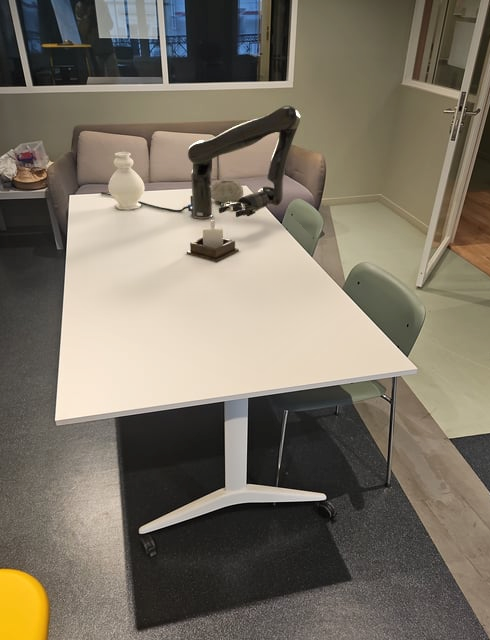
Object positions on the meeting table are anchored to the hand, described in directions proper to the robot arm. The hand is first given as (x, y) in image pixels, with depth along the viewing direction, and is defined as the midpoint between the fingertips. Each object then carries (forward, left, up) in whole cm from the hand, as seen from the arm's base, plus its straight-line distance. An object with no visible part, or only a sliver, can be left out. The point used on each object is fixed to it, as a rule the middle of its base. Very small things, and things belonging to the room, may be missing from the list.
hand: (227, 212), depth 204 cm
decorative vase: (-75, +16, -14) cm, 78 cm away
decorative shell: (-40, +54, -14) cm, 69 cm away
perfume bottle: (0, -11, -13) cm, 17 cm away
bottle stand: (0, -11, -14) cm, 17 cm away
